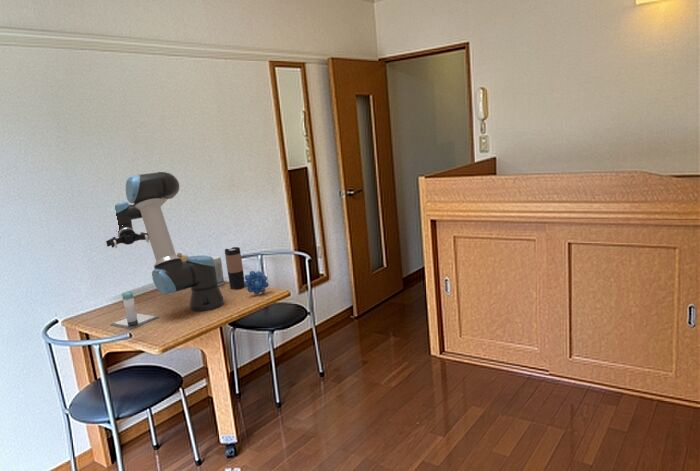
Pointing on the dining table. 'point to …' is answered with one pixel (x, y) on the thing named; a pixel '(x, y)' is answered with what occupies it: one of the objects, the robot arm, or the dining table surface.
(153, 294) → the dining table surface
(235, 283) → the travel mug
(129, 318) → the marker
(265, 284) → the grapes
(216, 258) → the supplement tub
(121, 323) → the light grey flat square
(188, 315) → the dining table surface
